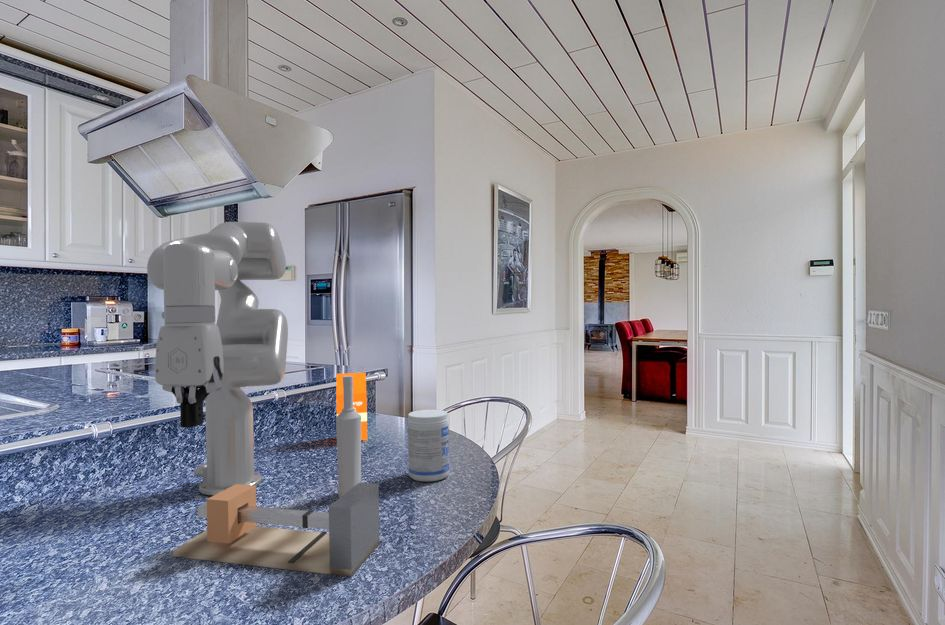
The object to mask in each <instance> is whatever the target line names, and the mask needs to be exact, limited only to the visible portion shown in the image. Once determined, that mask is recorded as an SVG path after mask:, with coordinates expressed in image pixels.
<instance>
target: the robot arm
mask: <svg viewBox="0 0 945 625" xmlns="http://www.w3.org/2000/svg"><path fill="white" fill-rule="evenodd" d="M146 265H147V266H146V273H147V276H148V279H149V281H150V283H151V284H152V285H153V286H154V287H156V288H157V289H159V290H163V306H164V307H163V312H162V313H161V318H162V319H163V321H164V322H163V323H164V326H161V325H160V328H159V331H158V335H157V342H156V348H155V360H154V361H155V363H154V364H155V366H154V379H155V382H156V384H158V385H161V386H162V387H161V388H162V390H163V391H166V392H169V393H172V394H173V396H174V397H175V399H176V403H178V404H179V407H180V408H179V409H180V411H179V412H180V413H179V414H180V416H179V417H180V427H181V428H187V429H189V428H194V427H197V426H200V425H203V423H204V408H205V446H206V448H205V449H206V450H205V452H206V464H199V465H198V466H197V467H196V468H197V469H195V470H194V471H193V475H194V476H195V477H202V481H201V482H200V484H199V485H198V492H200V493H201V495H202V494H203V495H205V496H206V495H207V496H214V495H216V494H218V493H220V492H222V491H224V490H225V489H227V488H229V487H231V486H233V485H235V484H242V485H255V486H256V487H258V485H260V484H261V483H262V481H263V478H262V474H261V473H259V472H256V471H255V448H254V446H255V442H254V406H253V404H252V401H251V399H250V398H249V396H248V395H247V394H246V393H245V392H244V391H243V390H242V388H246V387H261V386H262V387H263V386H264V387H265V386H273V385H277V384H279V383H281V382H282V380H283V379H284V377H285V373H286V368H287V367H286V365H287V353H288V351H287V350H288V337H289V326H288V325H289V324H288V320H287V316H286V315H285V314H284V312H282V311H281V310H279V309H274V308H259V304H260V303H259V298H258V296H257V295H256V293H255V291H254V290H252V289H251V288H250V287H249V286H247V285H246V284H245V283H244V282H242V281H272V280H273V281H274V280H279V279H281V278H283V277H284V275H285V273H286V269H287V261H286V256H285V252H284V248H283V244H282V240H281V238H280V235H279V233H278V231H277V230H276V228H275V227H274V226H273V225H272V224H270V223H268V222H260V221H259V222H254V221H226V222H222V223H220V224H218V225H216V226H215V227H214V228H212V229H211V230H210V231H209V232H207V233H202V234H197V235H193V236H188V237H187V236H186V237H183V238H177V239H174V240H173V239H172V240H169V241H167V242H164V243H162V244H160V245H159V246H157V248H155V249H154V250H153V251H152V253H151V254H150V256H149V258H148V261H147V264H146ZM216 291H218V294H219V297H220V304H219V309H218V313H217V317H216ZM204 405H205V407H204Z"/></svg>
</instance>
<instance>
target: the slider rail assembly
mask: <svg viewBox="0 0 945 625" xmlns="http://www.w3.org/2000/svg"><path fill="white" fill-rule="evenodd" d="M379 486H380V485H379V483H370V482H361V483H358V484H357V485H355V486H354V487H353V488H352V489H350V490H349V491H348V492H347V493H345V494H344V495H343V496H342V497H338V499H336V501H334V502H333V503H331V504H329V506H328V512H326V511H324V512H323V511H315V510H311V509H309V510H303V509H301V510H299V509H290V508H289V509H288V508H276V507H267V506H266V507H265V506H264V507H263V506H257V507H255V506H241V507H240V508H238V509H237V511H238V521H243V522H254V523H257V524H268V525H276V526H278V525H279V526H287V527H300V528H302V529H308V528H310V529H320V530H321V529H322V530H328V533H329V554H330V569H331V568H332V569H333V568H334V569H336V568H338V569H347V570H348V572H349V573H348V574H347V576H346V575H345V576H344V575H339V576H340V577H341V576H342V577H349V576H350V575H349V574H350V572H352V571H353V570H354V569H353V568H355V566H356V565H357V566H358V567H356V568H357V571H358V570H359V569H360V568H359V567H360V566H363V564H364V563H365V562H366V561H364V559H363V558H366V557H363V556H365V555H367V552H368V551H369V550H370V548H371V547H372V546H373V545H374V544H375V543H376V542H377V540H381V539H379V538H380V501H379V500H380V490H379ZM197 518H199V519H201V518H202V519H207V501H206V502H204V503H201V504H200V505H197ZM378 542H379V541H378ZM379 543H380V542H379ZM379 543H378V544H379ZM379 545H380V544H379ZM379 545H376V544H375V547H374V548H375V549H374V548H373V549H374V550H373V549H372V548H371V549H372V550H373V552H375V550H376V549H377V548H378V547H379ZM376 546H377V548H376ZM369 553H371V550H370V552H369ZM367 557H368V558H369V557H370V556H367ZM360 560H362V561H364V562H362V561H360ZM359 561H360V562H359ZM358 562H359V563H360V564H359V565H358ZM361 562H362V564H361ZM358 568H359V569H358ZM350 570H352V571H350ZM333 571H334V570H333ZM333 571H332V570H331V574H330V575H332V573H333ZM354 571H356V570H354ZM354 571H353V573H355V574H356V572H357V571H356V572H354ZM334 572H335V575H334V574H333V576H337V575H336V574H337V573H336V572H338V571H336V570H335V571H334ZM340 572H341V571H340ZM343 572H344V570H343ZM345 573H346V572H345ZM353 573H352V574H353ZM341 574H342V573H341ZM343 574H344V573H343ZM353 576H354V575H352V577H353ZM349 578H351V576H350V577H349Z"/></svg>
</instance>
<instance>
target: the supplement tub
mask: <svg viewBox="0 0 945 625" xmlns="http://www.w3.org/2000/svg"><path fill="white" fill-rule="evenodd" d="M449 428H450V427H449V417H448V412H447V411H445V410H443V409H420V410H414V411H411V412H408V414H407V450H408V451H407V452H408V454H407V455H408V457H407V458H408V461H407V462H408V475H409V477H410V478H411V479H413V480H414V481H417V482H422V483H423V482H426V483H427V482H429V483H430V482H437V481H440V480H444V479H445V478H447V477H448V476H449V474H450V443H449V442H450V441H449V440H450V439H449V438H450V436H449V431H450V430H449Z"/></svg>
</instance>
